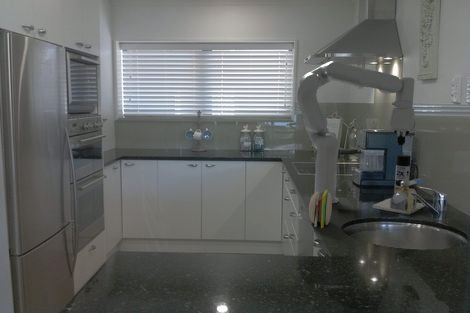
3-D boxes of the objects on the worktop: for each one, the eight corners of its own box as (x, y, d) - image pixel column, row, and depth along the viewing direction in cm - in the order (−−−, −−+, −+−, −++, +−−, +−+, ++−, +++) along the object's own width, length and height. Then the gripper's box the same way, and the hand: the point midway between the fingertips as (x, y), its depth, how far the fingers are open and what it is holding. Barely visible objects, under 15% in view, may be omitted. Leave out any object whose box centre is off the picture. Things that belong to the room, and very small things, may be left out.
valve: (409, 214, 180) (411, 191, 179) (372, 207, 190) (373, 186, 189) (424, 206, 195) (426, 185, 194) (389, 200, 206) (390, 180, 204)
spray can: (391, 194, 220) (394, 155, 218) (397, 192, 225) (400, 154, 223) (404, 196, 216) (407, 156, 213) (410, 194, 221) (413, 155, 218)
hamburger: (310, 218, 171) (311, 188, 170) (331, 220, 169) (333, 190, 167) (306, 226, 160) (307, 194, 158) (329, 228, 157) (330, 196, 156)
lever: (406, 186, 188) (406, 183, 188) (399, 185, 190) (399, 181, 190) (424, 182, 198) (424, 179, 198) (416, 181, 201) (416, 178, 200)
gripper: (384, 104, 198) (382, 144, 200) (419, 105, 189) (416, 146, 192) (389, 104, 204) (386, 143, 206) (423, 105, 195) (420, 145, 198)
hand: (401, 144), depth 199 cm, fingers closed
